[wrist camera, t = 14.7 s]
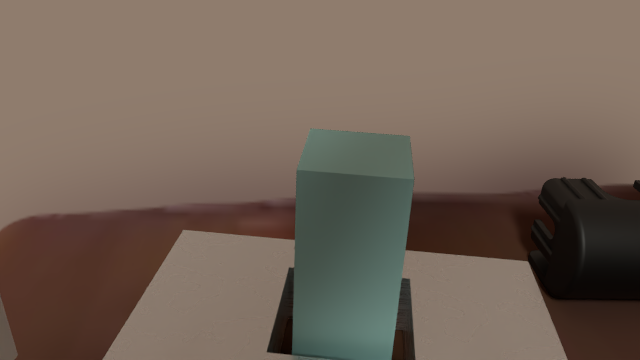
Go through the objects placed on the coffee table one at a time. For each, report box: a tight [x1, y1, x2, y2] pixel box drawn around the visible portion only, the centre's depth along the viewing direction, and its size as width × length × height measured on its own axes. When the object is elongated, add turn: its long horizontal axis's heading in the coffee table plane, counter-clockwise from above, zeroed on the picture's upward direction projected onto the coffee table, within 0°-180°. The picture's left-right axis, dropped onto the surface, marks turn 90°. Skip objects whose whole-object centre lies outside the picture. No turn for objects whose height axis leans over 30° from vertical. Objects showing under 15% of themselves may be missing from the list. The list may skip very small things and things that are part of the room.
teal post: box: [292, 129, 414, 360], centre depth 26 cm, size 4×4×12 cm
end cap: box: [528, 177, 640, 299], centre depth 34 cm, size 10×7×7 cm
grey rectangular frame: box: [103, 230, 567, 360], centre depth 28 cm, size 20×12×4 cm, turn 84°
